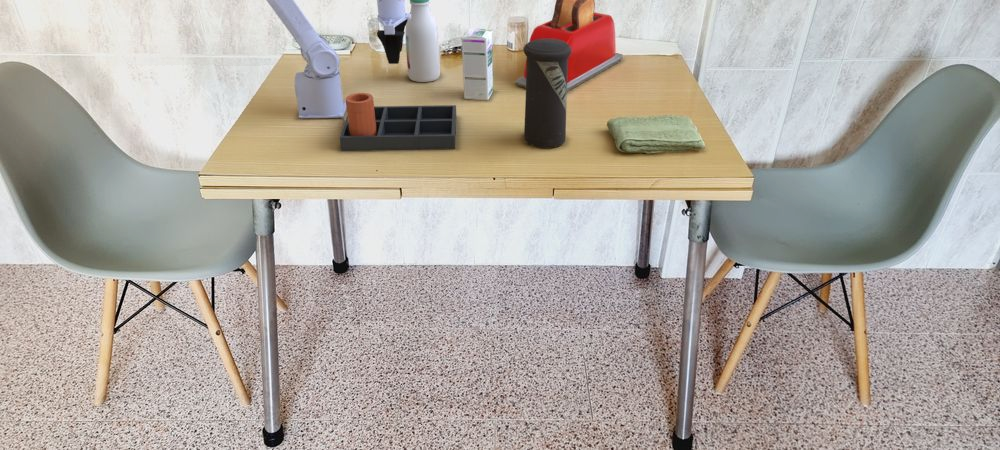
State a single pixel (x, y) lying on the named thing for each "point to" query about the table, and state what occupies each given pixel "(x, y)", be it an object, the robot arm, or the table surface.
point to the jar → (361, 114)
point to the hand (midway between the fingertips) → (395, 57)
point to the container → (546, 92)
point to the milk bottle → (422, 43)
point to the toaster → (580, 40)
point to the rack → (406, 129)
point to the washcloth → (655, 134)
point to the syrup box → (477, 64)
